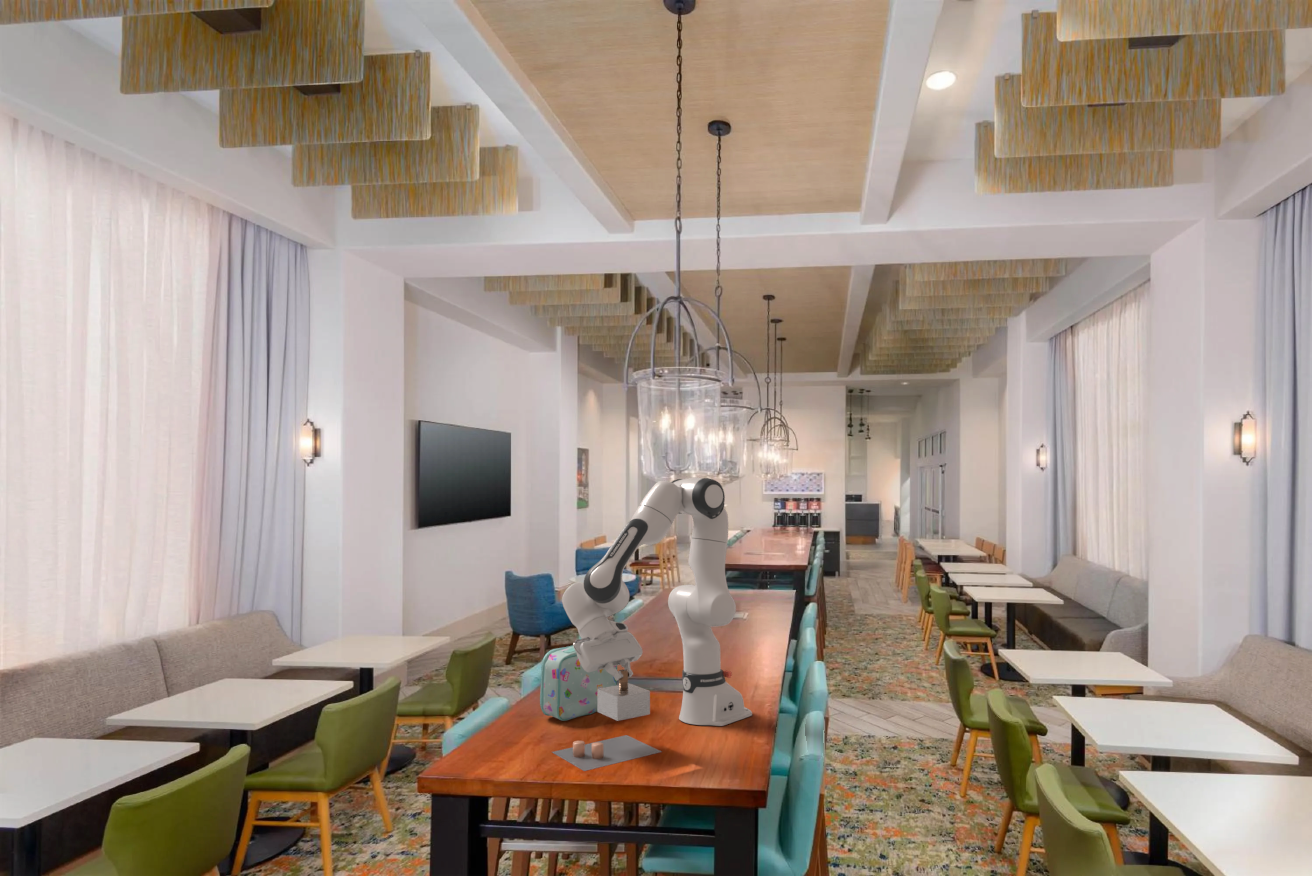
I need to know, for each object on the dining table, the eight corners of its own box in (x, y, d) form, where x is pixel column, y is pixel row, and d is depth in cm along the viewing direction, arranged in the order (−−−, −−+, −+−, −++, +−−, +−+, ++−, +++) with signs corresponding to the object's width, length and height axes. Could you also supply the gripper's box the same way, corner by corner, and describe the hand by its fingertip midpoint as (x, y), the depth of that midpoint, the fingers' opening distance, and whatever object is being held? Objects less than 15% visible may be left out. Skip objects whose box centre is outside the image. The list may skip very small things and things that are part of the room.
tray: (626, 739, 221) (626, 723, 221) (662, 756, 207) (661, 739, 207) (551, 756, 208) (551, 739, 208) (584, 776, 194) (584, 757, 194)
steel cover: (629, 705, 218) (629, 664, 218) (650, 714, 210) (649, 671, 210) (597, 711, 212) (597, 669, 213) (617, 720, 204) (617, 676, 205)
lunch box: (598, 700, 261) (597, 633, 262) (621, 705, 254) (620, 637, 255) (536, 720, 240) (536, 647, 241) (560, 726, 234) (559, 651, 235)
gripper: (576, 633, 209) (603, 677, 202) (630, 623, 224) (656, 663, 217) (564, 648, 212) (590, 692, 205) (618, 637, 227) (644, 677, 220)
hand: (625, 677), depth 211 cm, fingers closed on steel cover, 2 cm apart
